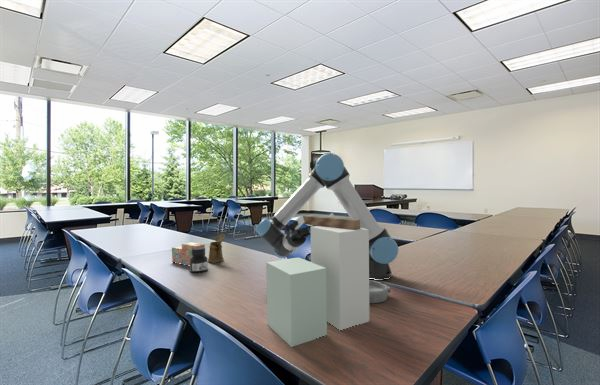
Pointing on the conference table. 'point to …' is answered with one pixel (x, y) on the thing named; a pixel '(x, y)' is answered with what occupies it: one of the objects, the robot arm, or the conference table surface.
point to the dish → (377, 292)
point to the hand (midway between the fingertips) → (318, 217)
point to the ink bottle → (198, 260)
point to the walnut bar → (332, 222)
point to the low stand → (296, 300)
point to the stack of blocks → (184, 252)
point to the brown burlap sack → (216, 249)
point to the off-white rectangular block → (343, 273)
